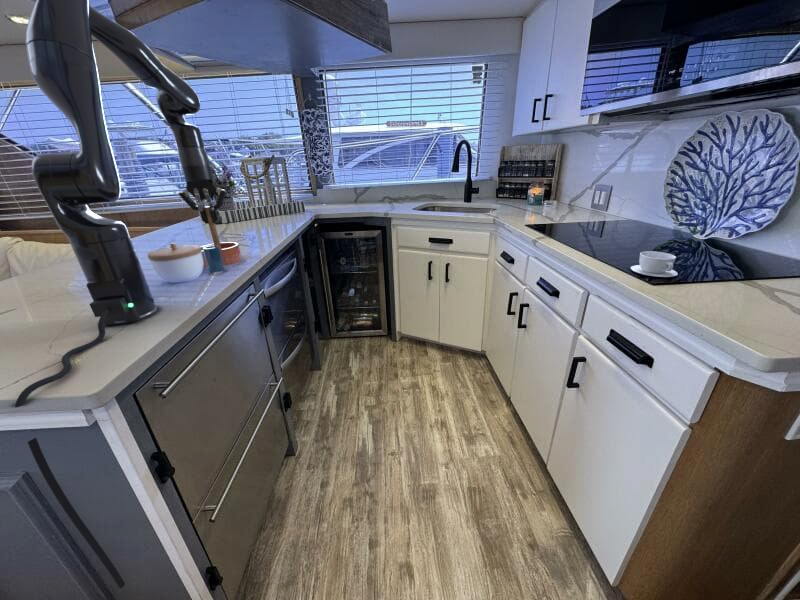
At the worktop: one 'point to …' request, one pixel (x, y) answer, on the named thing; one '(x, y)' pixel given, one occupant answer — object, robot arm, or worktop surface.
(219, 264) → the utensil pot
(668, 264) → the teacup
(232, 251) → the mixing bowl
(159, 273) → the lidded bowl
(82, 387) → the worktop surface
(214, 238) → the stirring stick
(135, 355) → the worktop surface
